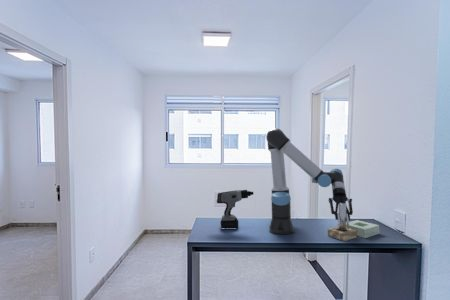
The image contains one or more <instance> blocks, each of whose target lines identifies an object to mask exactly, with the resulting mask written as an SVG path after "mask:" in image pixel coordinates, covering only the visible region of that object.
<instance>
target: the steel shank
mask: <svg viewBox="0 0 450 300" xmlns="http://www.w3.org/2000/svg"><path fill="white" fill-rule="evenodd" d="M346 205H347V203H339V204H338V213H339V218H340V226H339V231H342V232H345V231H346V223H347V222H346Z"/></svg>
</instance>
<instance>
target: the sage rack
mask: <svg viewBox="0 0 450 300" xmlns="http://www.w3.org/2000/svg"><path fill="white" fill-rule="evenodd" d="M346 228H349V229H353V230H357V237H359V238H363V239H367V238H370V237H373V236H376V235H380V225H379V224H375V223H371V222H367V221H362V220H358V219H356V220H352V221H349V226H347V222H346Z"/></svg>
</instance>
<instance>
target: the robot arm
mask: <svg viewBox="0 0 450 300" xmlns="http://www.w3.org/2000/svg"><path fill="white" fill-rule="evenodd" d="M265 138H266V141H267V150H268V151H269V152H270V160H271V161H270V163H271V171H272V173H271V174H272V175H271V176H272V184H273V187H272V188H271V197H270V198H271V199H270V200H271V220H270V225H269V226H268V229H269V232H270V233H272V234H276V235H290V234H293V233H294V231H295V227H294V224H293V221H292V219H291V218H292V215H291V214H292V212H291V210H292V209H291V207H292V205H291V199H292V198H291V195H290V188H289V187H288V185H287V179H286V165H285V164H286V163H285V156H287V157H288V158H289V159H290V160H291V161H293V163H294V164H296V165H297V166H298V167H299V168H300V169H301V170H302V171H304V173H306V174H307V175H308V176H309V177H310V178H311V183H312V184H318V186H320V187H322V188H327V187H330V185H331V191H332V197H329V198H328V203H329V208H330V213H331V214H332V215H334V217H335V220H336V221H337V225H338V226H340V218H339V203H346V202H347V203H348V206H347V203H346V223H347V226H349V222H350V220H351V216H352V215H353V213H354V212H353V211H354V210H353V203H352V202H353V199H352V198H348V197H347V192H346V186H345V180H344V174H343V171H342V170H341V169H339V168H334V169H333V168H332V169H331V170H330V171H324V170H322V169H321V168H320V167H319V166H318V165H317V164H315V163H314V162H313V161H312V159H310V158H308V156H306V155H305V154H304V153H303V151H301V150H300V149H299V148H297V147H296V146H295V145H294V144H293V143H292V142H291V140H290V138H289V137H287V135H286V134H285V133H284V132H283V130H281V129H280V128H276V127H275V128H271V129H269V131H268V132H267V133H266V137H265ZM333 202H334V203H335V209H334V203H333Z"/></svg>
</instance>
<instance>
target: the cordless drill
mask: <svg viewBox="0 0 450 300" xmlns="http://www.w3.org/2000/svg"><path fill="white" fill-rule="evenodd" d="M253 195H254V191H250V190H248V189H239V190H238V189H237V190H230V191H223V192H218V193H217V197H216V198H217V199H216V204H225V205H226V207H225V208H224V211H223V215H221V219H220V229H221V228H238V229H239V220H238V217H237V216H236V215H234V214H232V213H231V211H232V209H233V208H235V207H236V203H237V202H240V201H241V200H242V199H243V200H244V199H248V198H249V197H250V196H253Z"/></svg>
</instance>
